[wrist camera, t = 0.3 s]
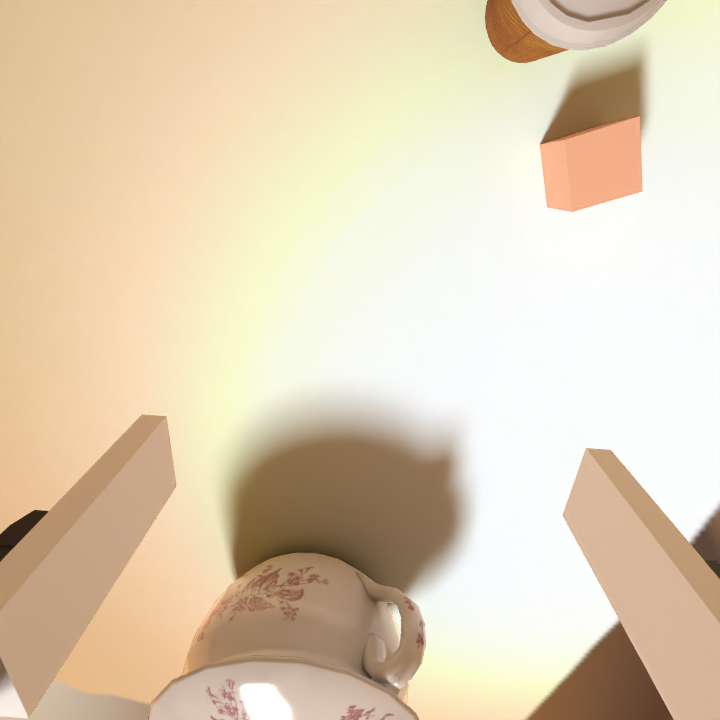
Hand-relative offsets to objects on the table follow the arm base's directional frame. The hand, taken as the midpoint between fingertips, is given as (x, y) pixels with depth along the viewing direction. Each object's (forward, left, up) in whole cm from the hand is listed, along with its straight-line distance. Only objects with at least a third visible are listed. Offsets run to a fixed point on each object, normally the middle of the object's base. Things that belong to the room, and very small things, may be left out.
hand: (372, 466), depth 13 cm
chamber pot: (+43, -5, -28) cm, 51 cm away
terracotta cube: (-10, +16, -28) cm, 34 cm away
